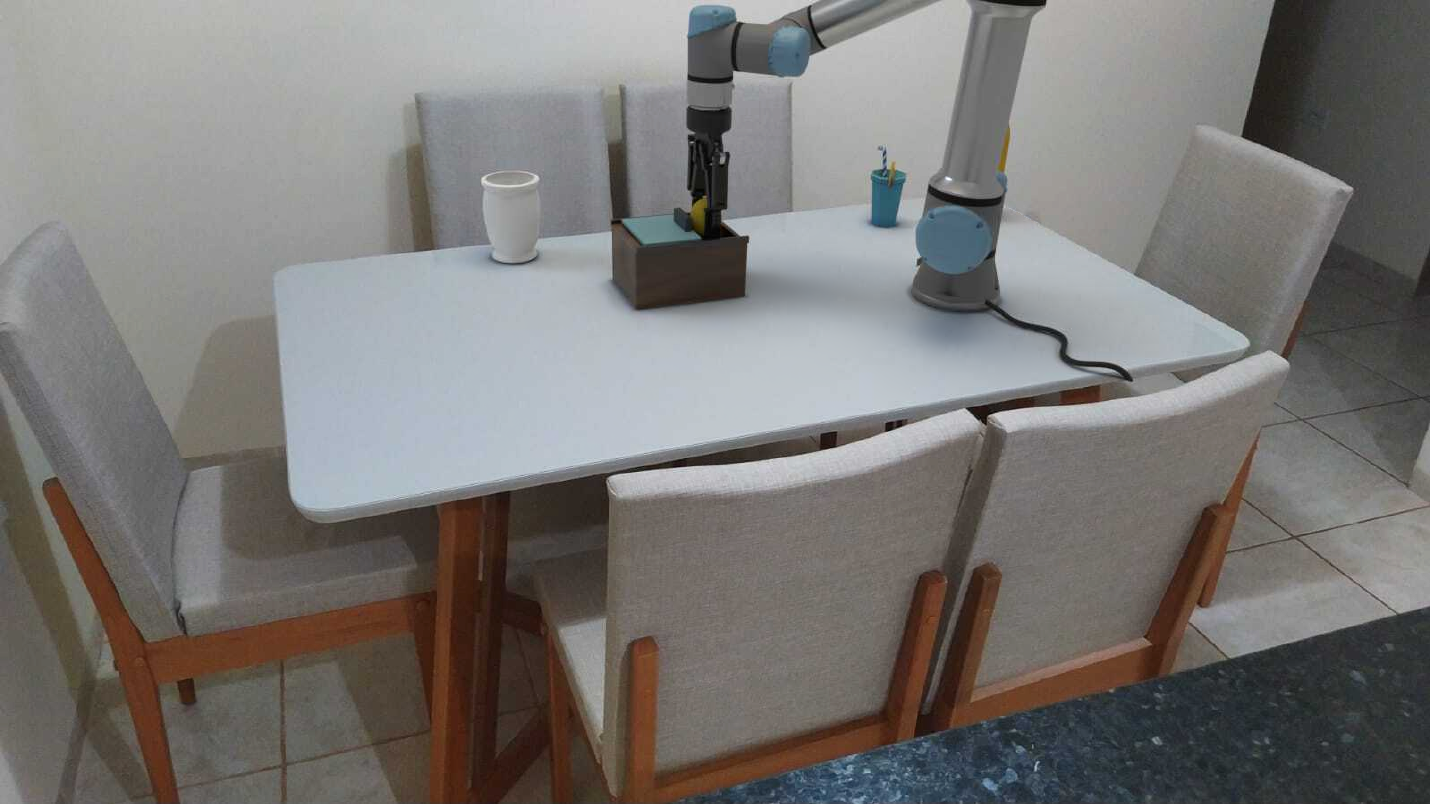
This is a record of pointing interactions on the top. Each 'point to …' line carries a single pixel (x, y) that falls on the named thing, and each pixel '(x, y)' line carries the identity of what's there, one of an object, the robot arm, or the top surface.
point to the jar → (512, 214)
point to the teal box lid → (662, 228)
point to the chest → (678, 268)
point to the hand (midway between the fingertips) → (705, 239)
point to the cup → (886, 193)
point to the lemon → (699, 217)
